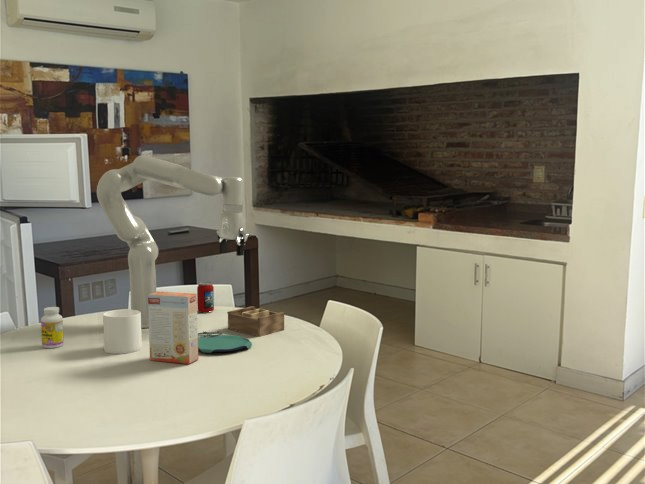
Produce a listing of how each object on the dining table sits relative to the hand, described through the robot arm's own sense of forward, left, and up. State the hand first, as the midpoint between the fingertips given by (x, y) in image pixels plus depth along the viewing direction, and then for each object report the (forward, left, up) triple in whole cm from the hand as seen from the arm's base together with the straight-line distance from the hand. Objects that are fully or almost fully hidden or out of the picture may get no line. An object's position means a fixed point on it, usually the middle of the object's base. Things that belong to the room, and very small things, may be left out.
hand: (231, 254), depth 238 cm
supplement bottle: (-61, +21, -27) cm, 70 cm away
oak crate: (-2, -15, -26) cm, 30 cm away
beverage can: (+6, +23, -27) cm, 36 cm away
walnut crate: (-2, -15, -27) cm, 31 cm away
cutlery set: (-24, -18, -27) cm, 41 cm away
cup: (-48, 0, -27) cm, 55 cm away
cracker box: (-45, -23, -27) cm, 57 cm away
